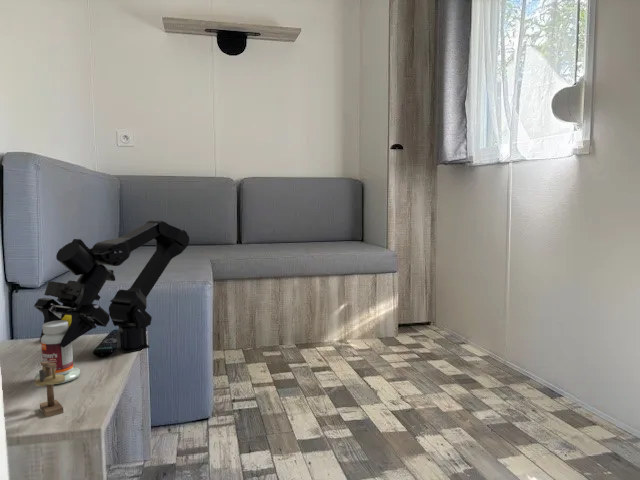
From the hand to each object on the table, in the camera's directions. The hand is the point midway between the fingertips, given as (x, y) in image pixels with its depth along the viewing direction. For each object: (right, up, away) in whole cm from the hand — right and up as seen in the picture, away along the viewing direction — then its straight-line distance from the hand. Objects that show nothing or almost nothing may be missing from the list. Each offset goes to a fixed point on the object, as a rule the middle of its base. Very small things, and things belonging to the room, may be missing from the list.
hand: (51, 344), depth 115 cm
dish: (+1, -8, +2) cm, 8 cm away
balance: (+7, -10, -14) cm, 19 cm away
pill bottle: (+1, -7, +2) cm, 7 cm away
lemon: (-12, -5, +32) cm, 35 cm away
